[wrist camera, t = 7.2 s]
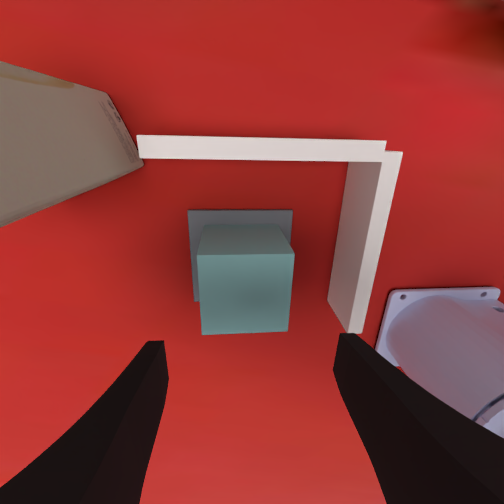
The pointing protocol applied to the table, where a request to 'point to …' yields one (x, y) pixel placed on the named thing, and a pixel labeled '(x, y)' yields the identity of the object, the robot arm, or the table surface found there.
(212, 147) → the light grey piece
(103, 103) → the skincare box
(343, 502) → the table surface
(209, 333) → the teal block
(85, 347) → the table surface
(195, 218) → the mat
